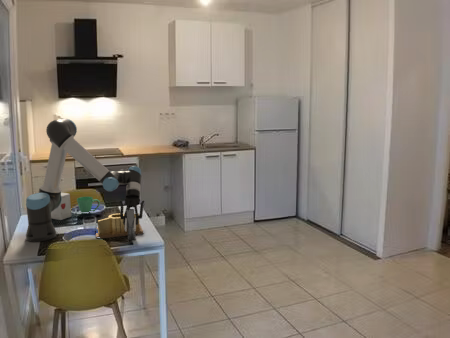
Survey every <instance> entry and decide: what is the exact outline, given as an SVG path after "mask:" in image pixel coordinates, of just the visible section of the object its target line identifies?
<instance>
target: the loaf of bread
mask: <svg viewBox="0 0 450 338" xmlns="http://www.w3.org/2000/svg"><path fill="white" fill-rule="evenodd" d="M124 214H125V213H123V216H124ZM139 214H140V212H139V213H138V216H139ZM134 216H135V218H136V215H135V213H134ZM96 228H97V229H98V233H96V234H95V238H96V237H100V238H101V239H108V238H116V237H117V238H119V237H125V236H127V237H128V231H125V225H124V224H123V219H121V217H120V212H119V213H112V214H109V215H108V216H107V217H106V218H103V219H99V220H97V227H96ZM142 234H144V230H143V228H142V226H141V224H140V219H139V220H138V225H136V231H135V236H136V235H142Z"/></svg>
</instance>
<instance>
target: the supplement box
mask: <svg viewBox="0 0 450 338" xmlns="http://www.w3.org/2000/svg"><path fill="white" fill-rule="evenodd" d="M61 196H62V201H61V203H60V205H59V207H58V208H56V209H55V210H54V211H52V212H51V219H53V220H58V221H62V220H65V219H67V218H71V217H72V207H71V205H72V204H71V194H70V193H67V192H61Z"/></svg>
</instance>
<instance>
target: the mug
mask: <svg viewBox="0 0 450 338" xmlns="http://www.w3.org/2000/svg"><path fill="white" fill-rule="evenodd" d="M94 202H97V205H96V207H95V208H94V209H92V208H93V203H94ZM76 203H77V205H78V208H79V211H80V213H81V212H89V211H93V212H95V211H97V209H99V207H100V206H101V201H100V200H99V199H97V198H95V199H94V198H93V196H80V197H77V198H76Z"/></svg>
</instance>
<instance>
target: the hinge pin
mask: <svg viewBox="0 0 450 338" xmlns="http://www.w3.org/2000/svg"><path fill="white" fill-rule="evenodd" d="M125 211H127V231H128V235H127V240H128V241H134V240H136V235H135V231H134V218H135V216H134V214H135V208H134V209H133V208H130V209H128V210H126V209H125Z"/></svg>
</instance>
